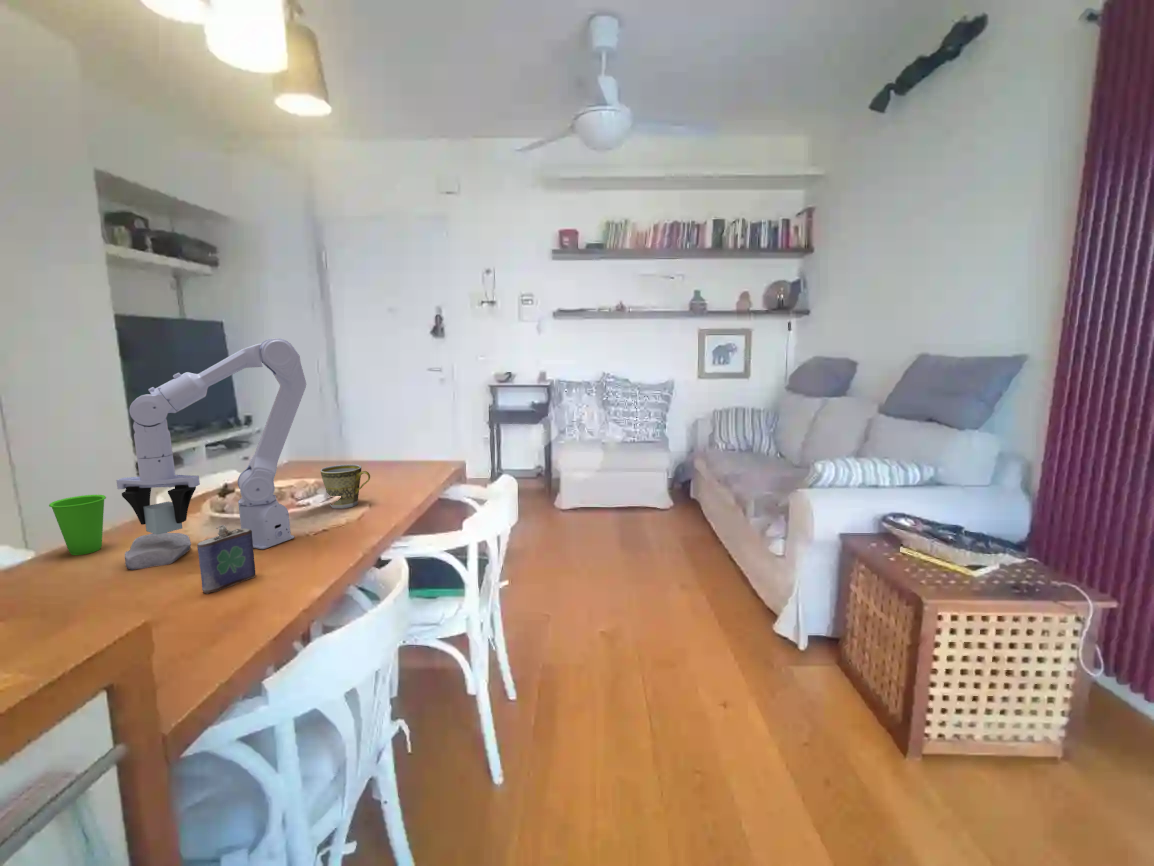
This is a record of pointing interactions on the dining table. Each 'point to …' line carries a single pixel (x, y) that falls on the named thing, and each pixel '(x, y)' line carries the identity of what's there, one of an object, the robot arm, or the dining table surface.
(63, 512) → the cup
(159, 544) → the stone block
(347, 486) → the ceramic cup
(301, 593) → the dining table surface
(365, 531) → the dining table surface
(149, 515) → the cube
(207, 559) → the flask
